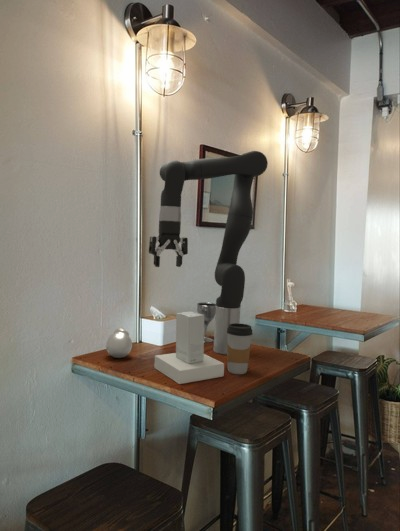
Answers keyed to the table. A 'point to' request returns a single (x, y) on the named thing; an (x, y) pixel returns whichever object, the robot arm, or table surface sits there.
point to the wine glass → (207, 315)
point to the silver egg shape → (119, 343)
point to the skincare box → (190, 337)
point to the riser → (188, 368)
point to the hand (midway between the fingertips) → (167, 266)
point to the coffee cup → (238, 347)
